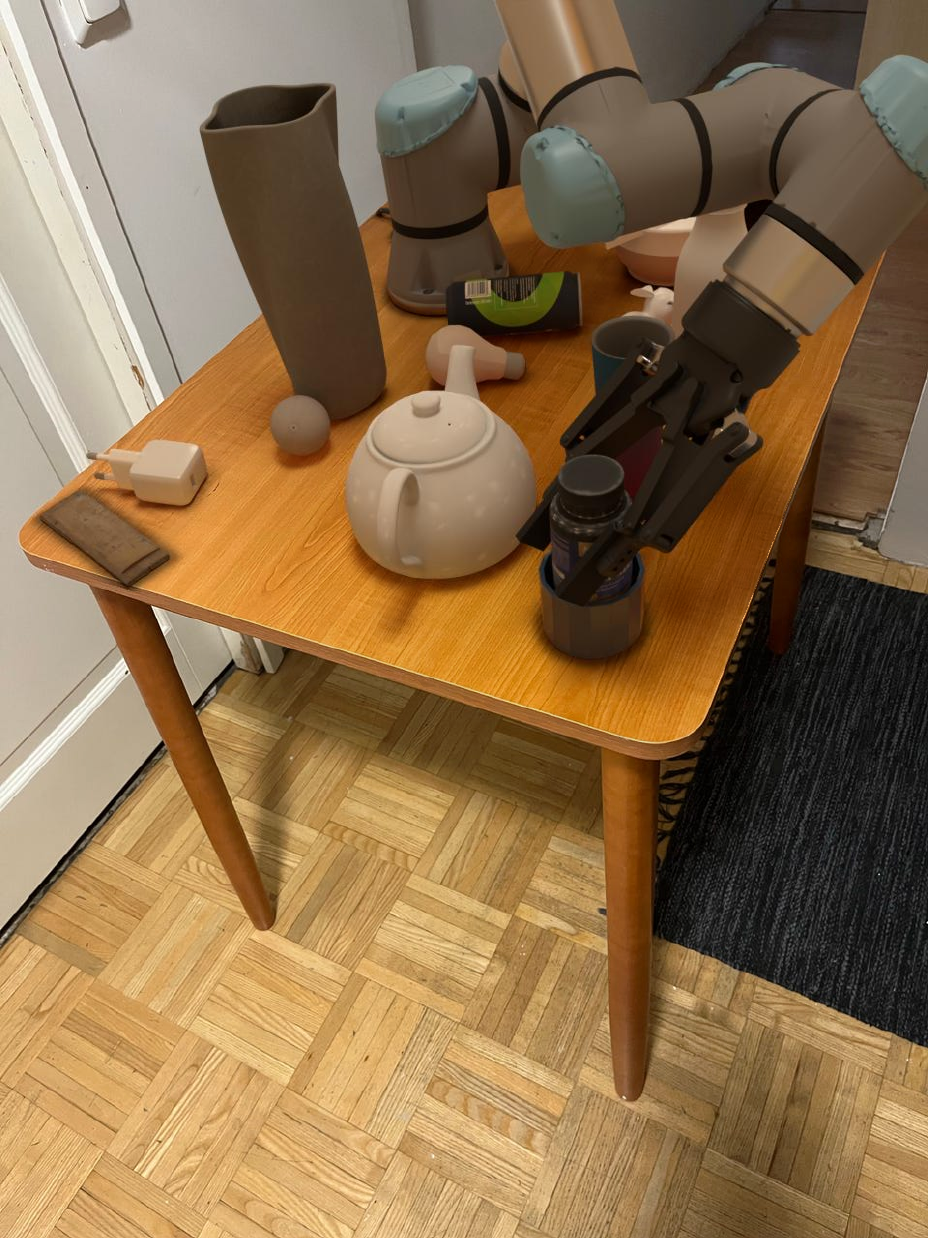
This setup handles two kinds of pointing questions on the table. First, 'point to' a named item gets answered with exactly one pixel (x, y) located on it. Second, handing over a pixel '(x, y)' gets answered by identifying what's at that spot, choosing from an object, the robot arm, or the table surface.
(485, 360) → the light bulb
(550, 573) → the cylindrical container
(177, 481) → the power adapter
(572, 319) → the beverage can
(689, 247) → the milk bottle
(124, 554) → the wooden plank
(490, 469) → the teapot
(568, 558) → the pill bottle
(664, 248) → the bowl
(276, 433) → the ball
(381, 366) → the vase
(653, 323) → the cup
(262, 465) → the table surface
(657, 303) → the elephant figurine
